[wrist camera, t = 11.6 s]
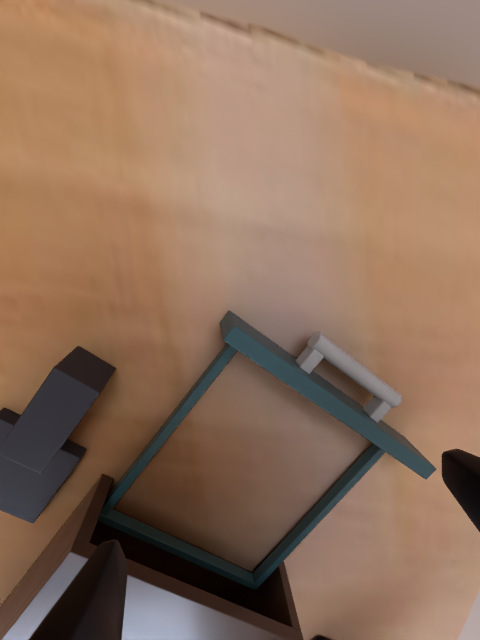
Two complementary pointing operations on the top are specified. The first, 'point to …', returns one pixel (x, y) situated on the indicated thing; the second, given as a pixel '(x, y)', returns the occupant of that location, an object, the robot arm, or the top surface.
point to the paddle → (47, 434)
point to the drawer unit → (147, 593)
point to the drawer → (311, 387)
